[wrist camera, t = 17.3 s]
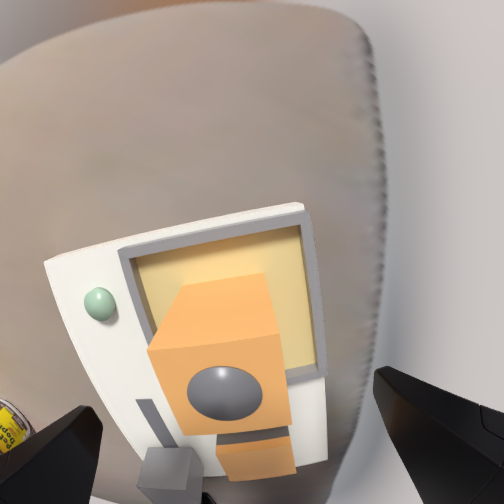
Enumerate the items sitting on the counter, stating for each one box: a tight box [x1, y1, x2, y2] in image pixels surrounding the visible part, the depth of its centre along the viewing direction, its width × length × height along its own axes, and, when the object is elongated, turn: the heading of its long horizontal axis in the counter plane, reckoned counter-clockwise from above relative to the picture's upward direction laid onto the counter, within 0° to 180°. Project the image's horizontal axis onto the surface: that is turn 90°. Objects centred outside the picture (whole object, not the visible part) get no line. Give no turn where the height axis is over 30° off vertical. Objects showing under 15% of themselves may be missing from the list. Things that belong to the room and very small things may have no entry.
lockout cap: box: [146, 272, 292, 436], centre depth 11 cm, size 4×4×6 cm
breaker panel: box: [44, 202, 328, 477], centre depth 16 cm, size 20×15×3 cm
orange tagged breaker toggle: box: [215, 425, 297, 482], centre depth 13 cm, size 3×4×5 cm
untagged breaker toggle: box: [137, 447, 204, 504], centre depth 15 cm, size 3×4×4 cm
